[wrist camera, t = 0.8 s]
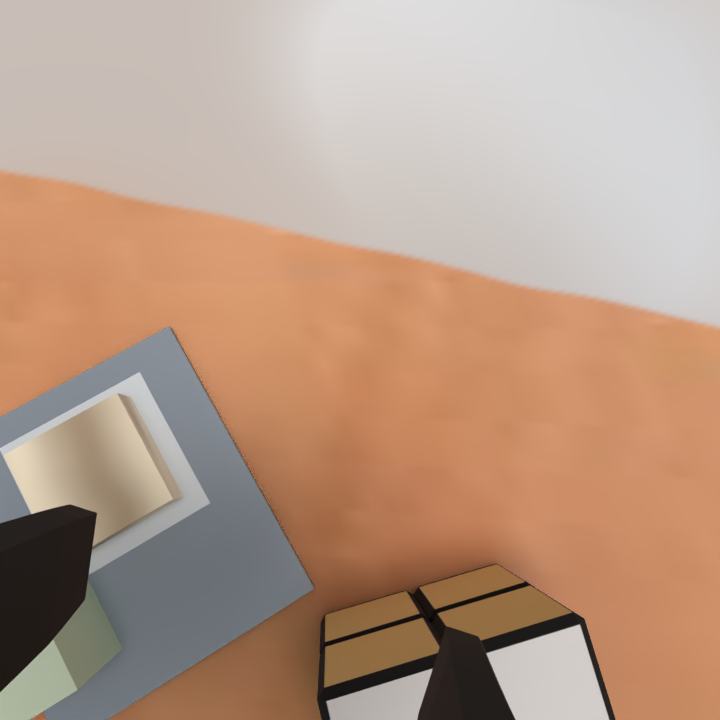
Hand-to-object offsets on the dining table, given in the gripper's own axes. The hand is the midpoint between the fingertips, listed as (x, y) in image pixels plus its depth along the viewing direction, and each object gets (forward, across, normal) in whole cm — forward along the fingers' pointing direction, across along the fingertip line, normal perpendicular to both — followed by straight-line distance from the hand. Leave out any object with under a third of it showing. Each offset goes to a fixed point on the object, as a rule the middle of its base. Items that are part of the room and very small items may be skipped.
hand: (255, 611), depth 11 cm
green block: (+12, +12, +15) cm, 23 cm away
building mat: (+15, +11, +10) cm, 21 cm away
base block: (+15, +12, +8) cm, 21 cm away
